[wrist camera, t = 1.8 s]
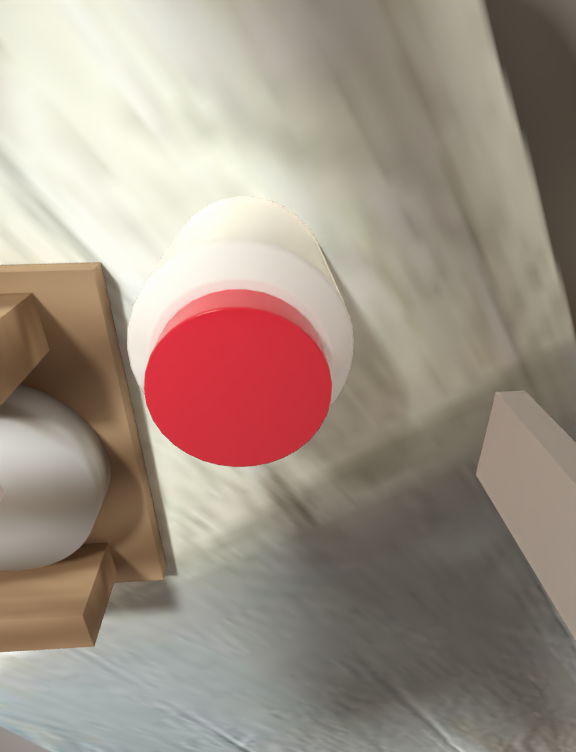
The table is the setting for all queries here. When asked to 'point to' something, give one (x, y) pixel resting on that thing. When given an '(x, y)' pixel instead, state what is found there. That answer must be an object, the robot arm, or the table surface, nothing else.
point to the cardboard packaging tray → (66, 460)
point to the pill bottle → (240, 335)
